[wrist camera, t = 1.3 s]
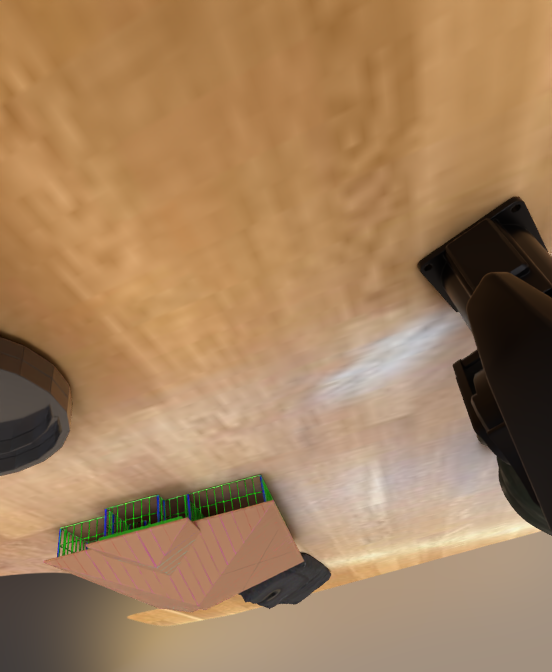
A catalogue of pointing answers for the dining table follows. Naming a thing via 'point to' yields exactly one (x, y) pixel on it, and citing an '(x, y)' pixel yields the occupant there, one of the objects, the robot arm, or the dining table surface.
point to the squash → (520, 497)
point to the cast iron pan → (30, 408)
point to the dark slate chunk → (289, 584)
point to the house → (186, 553)
